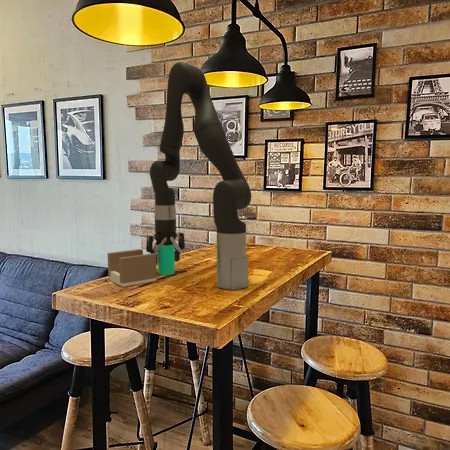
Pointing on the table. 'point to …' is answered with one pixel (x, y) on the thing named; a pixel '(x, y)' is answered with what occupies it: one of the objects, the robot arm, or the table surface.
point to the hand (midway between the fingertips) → (166, 262)
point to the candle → (166, 260)
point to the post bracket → (131, 267)
